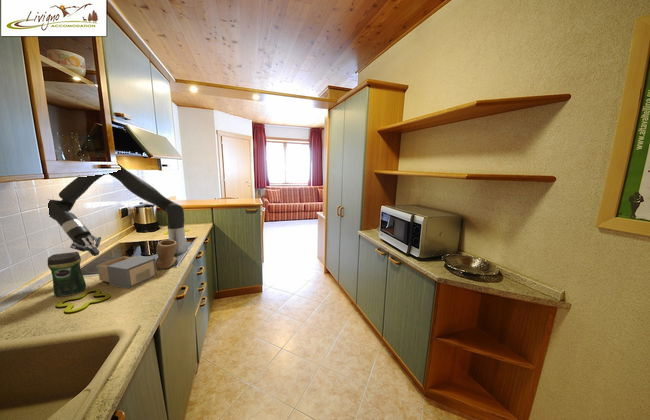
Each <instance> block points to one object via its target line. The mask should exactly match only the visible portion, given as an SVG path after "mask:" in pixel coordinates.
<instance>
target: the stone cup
mask: <svg viewBox="0 0 650 420" xmlns="http://www.w3.org/2000/svg"><path fill="white" fill-rule="evenodd" d="M176 248H177V243H176V242H175V241H173V240H169V239H162V240H160V241H158V243H157V245H156V254H157V256H158V259H157V260H156V261H155V262H156V270H163V269H169V268H171V267H173V265H174V264H175V263H176V261H177V259H178V257H177V256H175V255H176V254H175V251H176Z"/></svg>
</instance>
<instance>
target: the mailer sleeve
mask: <svg viewBox="0 0 650 420" xmlns="http://www.w3.org/2000/svg"><path fill="white" fill-rule="evenodd" d="M130 257H131V256H130ZM152 260H153V261H154V269H155V275H154V276H152V277H149V278H147V279H145V280H143V281H141V282H139V283H137V284H134V285H132V286H130V279H129V272H128V270H129V269H131V268H134V267H136V266H139V265H142V264H144V263H147V262H149V261H152ZM156 262H157V261H156V257H152V256H143V255H134V256H132V257H131V258H128V259H126V260H123V261H120V262H117V263H114V264H112V265H109V266H107V269H108V276H109V282H108V283H109V286H110V287H117V288H122V289H127V290H130V289H133V288H134V287H137V286H139V285H141V284H143V283H145V282H148V281H149V280H151V279H153V278H155V276H156V277H157V276H158V274H157V273H158V272H157V270H158V269H156Z"/></svg>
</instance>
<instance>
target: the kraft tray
mask: <svg viewBox="0 0 650 420" xmlns="http://www.w3.org/2000/svg"><path fill="white" fill-rule="evenodd" d="M128 258H131V256H121V257H118V258H114V259H112V260H108V261H105V262H103V263H100V264H99V263H98V264H97V265H96V266H97V271H98V277H99V281H100V282H101V281H102V282H107V283H110V282H109V276H108V269H107V266H109V265H112V264H114V263H117V262H120V261H123V260H126V259H128ZM128 272H129V279H130V286H132V285H134V284H137V283H139V282H141V281H143V280H145V279H147V278H149V277H152V276H154V275H155V269H154V261H153V260H152V261H149V262H147V263H144V264H142V265H139V266H136V267H134V268H131V269H129V270H128Z"/></svg>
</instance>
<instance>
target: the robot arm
mask: <svg viewBox="0 0 650 420" xmlns="http://www.w3.org/2000/svg"><path fill="white" fill-rule="evenodd" d="M117 163H118V162H117ZM118 165H119V166H120V167H121V170H118V171H117V172H113V173H109V174H108V175H110V176H111V177H113V178H115V179H116V180H117V181H118V182H120V183H121V184H122V185H123V186H124V187H125V188H126V189H127V190H128V191H129V192H131V193H132V194H134V195H135V196H136V197H138V198H140V199H142V200H143V201H146V202H147V203H150V204H153V205H154V206H156V207H157V208H159V209H160V210H161V211H163V212H164V213H165V214H166V217H167V234H168V240H173V241H175V242H176V243H177V248H176V251H175V254H174V255H179V254H183V253H186V252H187V251H188V241H187V236H186V234H185V233H186V232H185V212H184V208H183V206H181V205H180V204H178V203H176V202H174V201H172V200H171V199H170V198H167V197H165V196H164V195H163V194H162V193H161V192H159V191H158V190H157V189H156V188H155V187H153V186H152V185H150V184H149V183H148V182H147V181H144V179H141V178H140V177H139V176H137V175H136V174H134V173H132V172H131V171H129V170H127V169H126V168H125V167H123V166H122V165H121V164H120V163H118ZM103 176H106V174H103V175H95V176H87V177H78V176H77V177H76V178H75V179H73V180H71V182H70V183H68V184H67V185H66V186H65V187H64V188H62V190H60V191H59V193H58V197H59V198H60V199H61V200H58V199H49V200H50V201H49V203H48V208H49V215H50V216H49V218H51V219H53V220H54V221H56V222H57V223H58V225H59V227H61V228H62V230H63V231H64V233H65V234H66V235H67V237H68V238H69V239H70V240H71V241H72V243H71V245H70V246H69V248H70V249H74V250H77V251H80V252H88V253H90V255H92V256H93V257H97V256H99V254H100V250H99V249H98V248H99V246H100V244H101V241H102V237H101V236H98V237H97V236H96V237H95V236H94V235H93V234H92V233H91V232H90V230H89V229H88V228H87V226H86V225H85V224H84V223H83V222H82V220H81V221H80V219H79V218H78V217H77V215H75V214H74V212H73V213H72V212H70V211H71V210H72V209H73V208H74V206H75V204H76V201H77V200H79V198H80V197H81V196H83V194H85V193H86V192H87V191H88V189H90V187H91V186H92V185H93V184H95V182H96V181H98V180H99V179H100V178H102V177H103Z"/></svg>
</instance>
